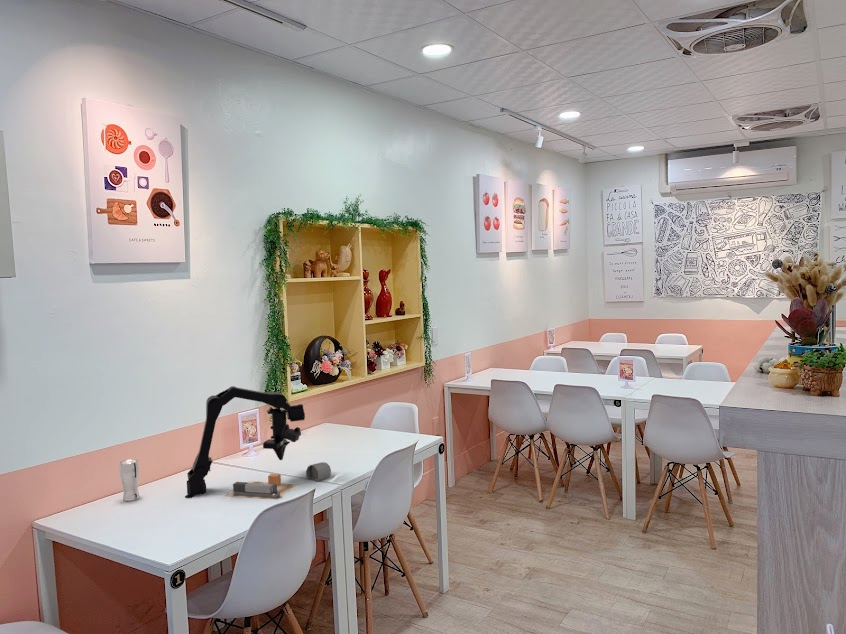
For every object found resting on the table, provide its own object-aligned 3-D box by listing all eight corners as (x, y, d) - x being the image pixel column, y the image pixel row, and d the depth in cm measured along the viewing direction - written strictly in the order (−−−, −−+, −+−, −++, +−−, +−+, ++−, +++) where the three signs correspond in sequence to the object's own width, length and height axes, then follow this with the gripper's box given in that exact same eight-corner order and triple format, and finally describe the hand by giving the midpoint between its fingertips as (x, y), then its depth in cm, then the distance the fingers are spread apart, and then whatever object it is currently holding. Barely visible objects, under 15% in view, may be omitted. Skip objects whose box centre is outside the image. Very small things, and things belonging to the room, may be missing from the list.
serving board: (225, 499, 253) (225, 496, 253) (249, 483, 270) (249, 481, 270) (277, 502, 248) (276, 499, 247) (297, 486, 265) (297, 484, 265)
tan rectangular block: (268, 485, 264) (268, 475, 263) (272, 483, 267) (271, 473, 266) (277, 486, 263) (277, 476, 262) (280, 483, 266) (280, 474, 265)
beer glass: (133, 502, 252) (131, 464, 251) (117, 501, 254) (115, 464, 253) (144, 496, 259) (142, 459, 258) (129, 495, 261) (126, 458, 260)
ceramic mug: (332, 479, 273) (331, 461, 273) (318, 485, 267) (317, 466, 266) (314, 475, 279) (313, 458, 279) (300, 481, 273) (299, 463, 272)
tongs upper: (273, 491, 252) (273, 484, 252) (270, 493, 249) (270, 486, 249) (236, 488, 256) (236, 481, 256) (233, 491, 253) (232, 483, 253)
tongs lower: (281, 495, 252) (281, 483, 251) (277, 498, 248) (276, 486, 248) (237, 492, 256) (237, 480, 256) (232, 495, 253) (232, 483, 253)
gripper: (286, 429, 258) (288, 467, 259) (306, 418, 276) (308, 454, 277) (261, 428, 261) (263, 466, 262) (282, 417, 279) (284, 453, 280)
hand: (281, 459), depth 270 cm, fingers closed
